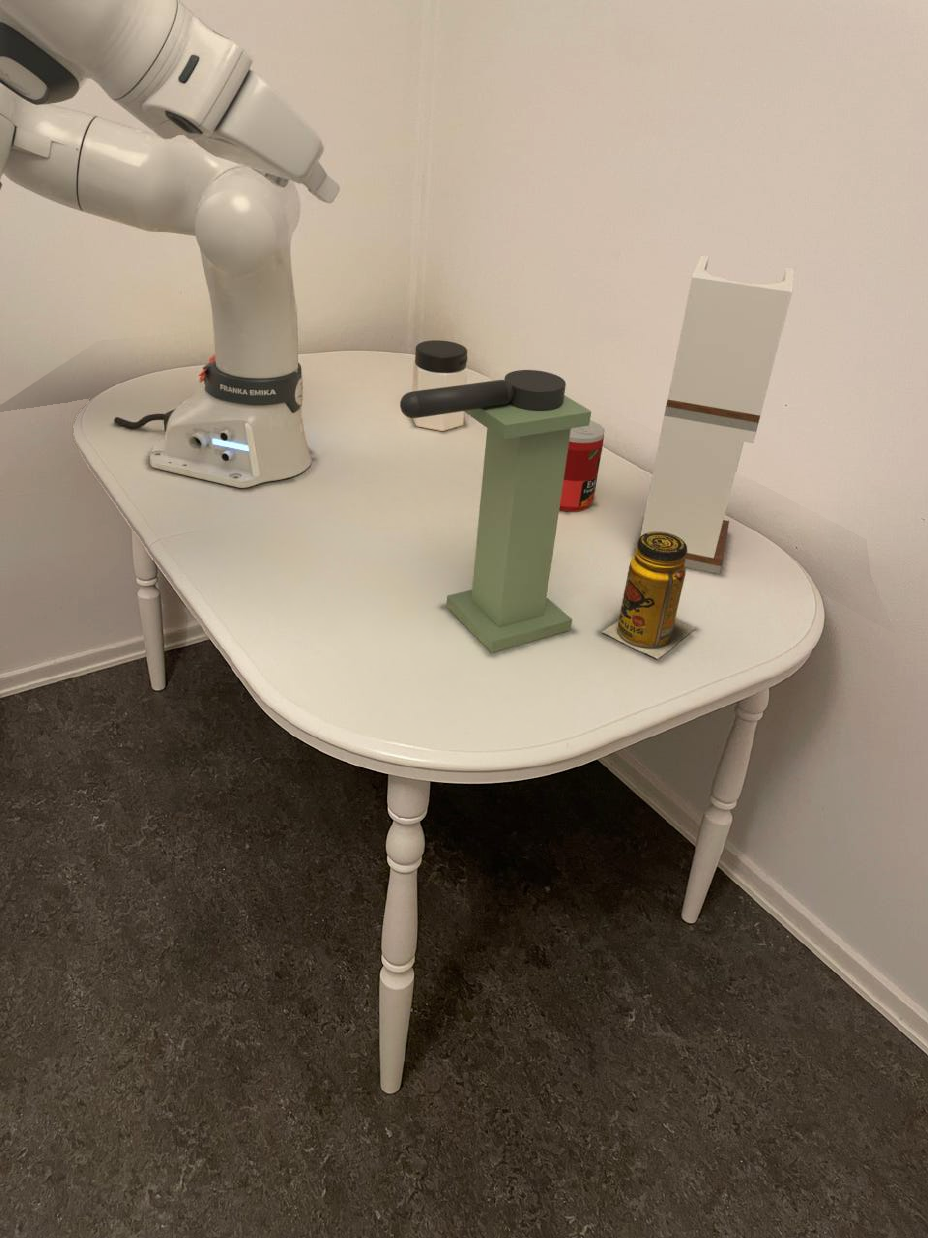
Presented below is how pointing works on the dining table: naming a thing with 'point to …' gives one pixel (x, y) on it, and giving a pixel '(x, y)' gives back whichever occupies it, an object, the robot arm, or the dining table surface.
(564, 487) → the canned food
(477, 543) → the stand
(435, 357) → the jar
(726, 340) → the white channel column
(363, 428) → the dining table surface
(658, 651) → the condiment
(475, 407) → the dark grey paddle
